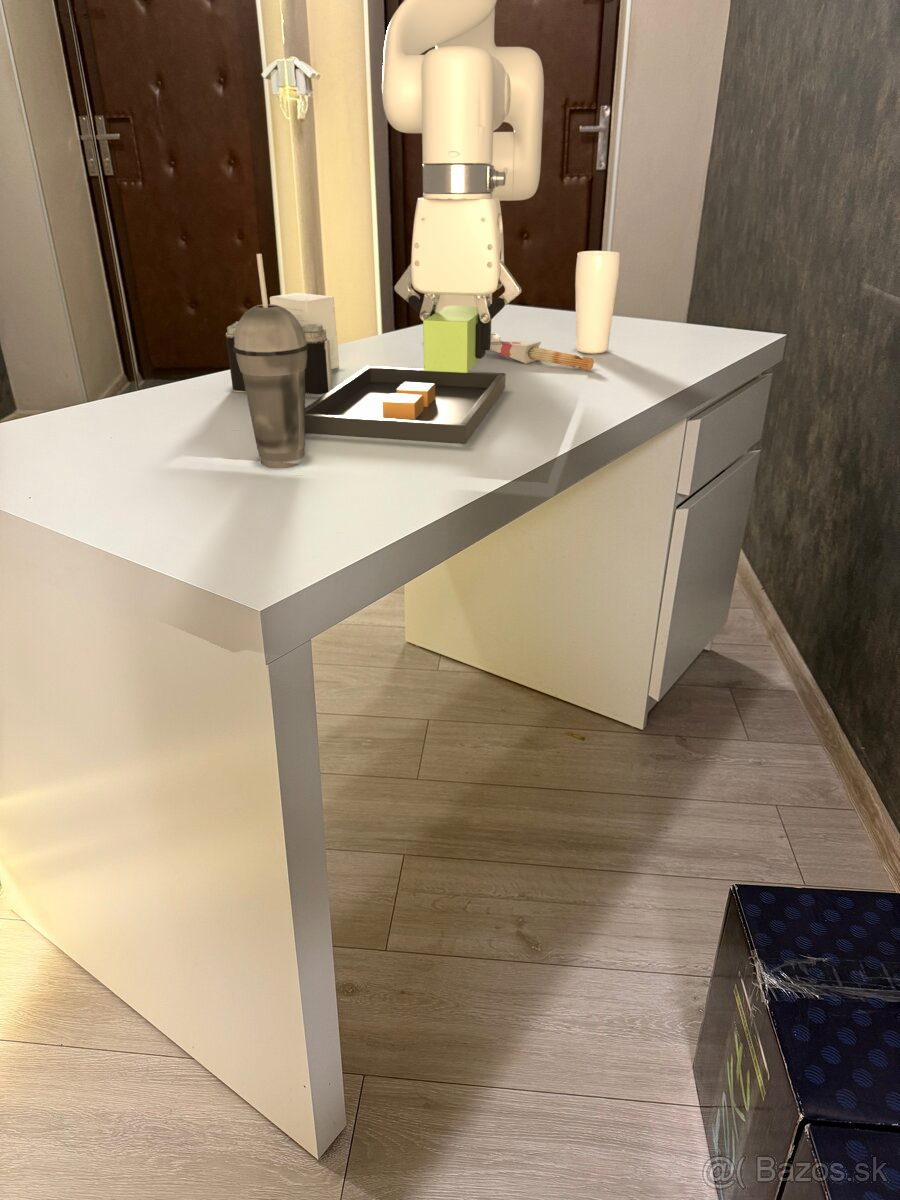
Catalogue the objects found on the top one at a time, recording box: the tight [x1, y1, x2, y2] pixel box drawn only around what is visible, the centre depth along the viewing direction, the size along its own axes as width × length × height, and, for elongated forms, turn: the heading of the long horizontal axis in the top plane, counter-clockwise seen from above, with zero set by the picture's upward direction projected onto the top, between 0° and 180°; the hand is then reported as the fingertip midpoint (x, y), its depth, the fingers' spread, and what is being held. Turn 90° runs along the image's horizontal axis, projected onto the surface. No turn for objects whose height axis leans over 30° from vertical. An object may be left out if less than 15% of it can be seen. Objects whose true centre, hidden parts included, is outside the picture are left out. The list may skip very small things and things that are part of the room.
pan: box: [305, 365, 507, 445], centre depth 102 cm, size 26×20×3 cm
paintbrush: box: [490, 341, 595, 371], centre depth 128 cm, size 4×3×20 cm
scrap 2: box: [396, 382, 435, 407], centre depth 105 cm, size 4×4×2 cm
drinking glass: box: [574, 250, 621, 355], centre depth 133 cm, size 7×7×15 cm
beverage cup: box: [233, 253, 308, 469], centre depth 82 cm, size 7×7×20 cm
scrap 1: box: [382, 393, 423, 420], centre depth 100 cm, size 4×4×2 cm
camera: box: [225, 320, 333, 395], centre depth 109 cm, size 15×7×10 cm, turn 72°
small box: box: [269, 292, 340, 370], centre depth 122 cm, size 8×6×10 cm
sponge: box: [422, 305, 488, 373], centre depth 97 cm, size 12×5×6 cm, turn 167°
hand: (457, 353), depth 98 cm, fingers closed on sponge, 5 cm apart
